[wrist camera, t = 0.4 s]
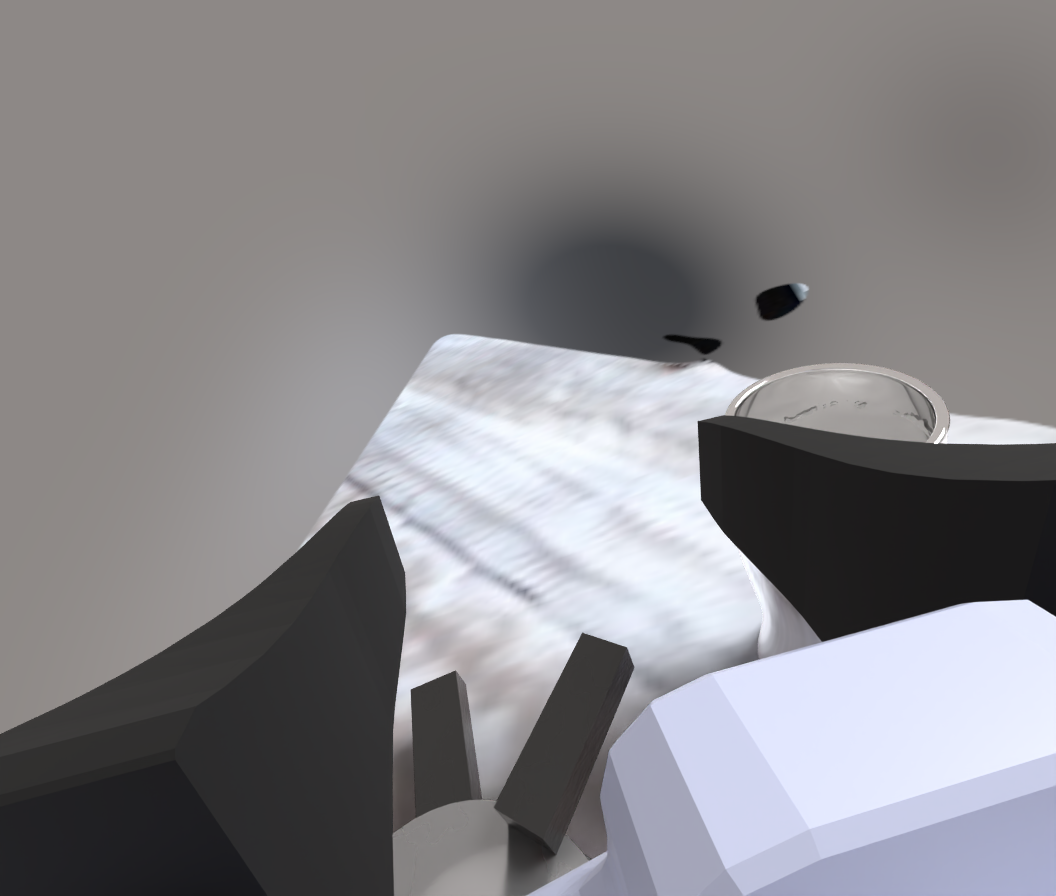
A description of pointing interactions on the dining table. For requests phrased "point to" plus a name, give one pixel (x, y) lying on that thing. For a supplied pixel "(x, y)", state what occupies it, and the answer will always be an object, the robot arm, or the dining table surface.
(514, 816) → the lid
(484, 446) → the dining table surface
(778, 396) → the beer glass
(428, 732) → the pot
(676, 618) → the dining table surface
